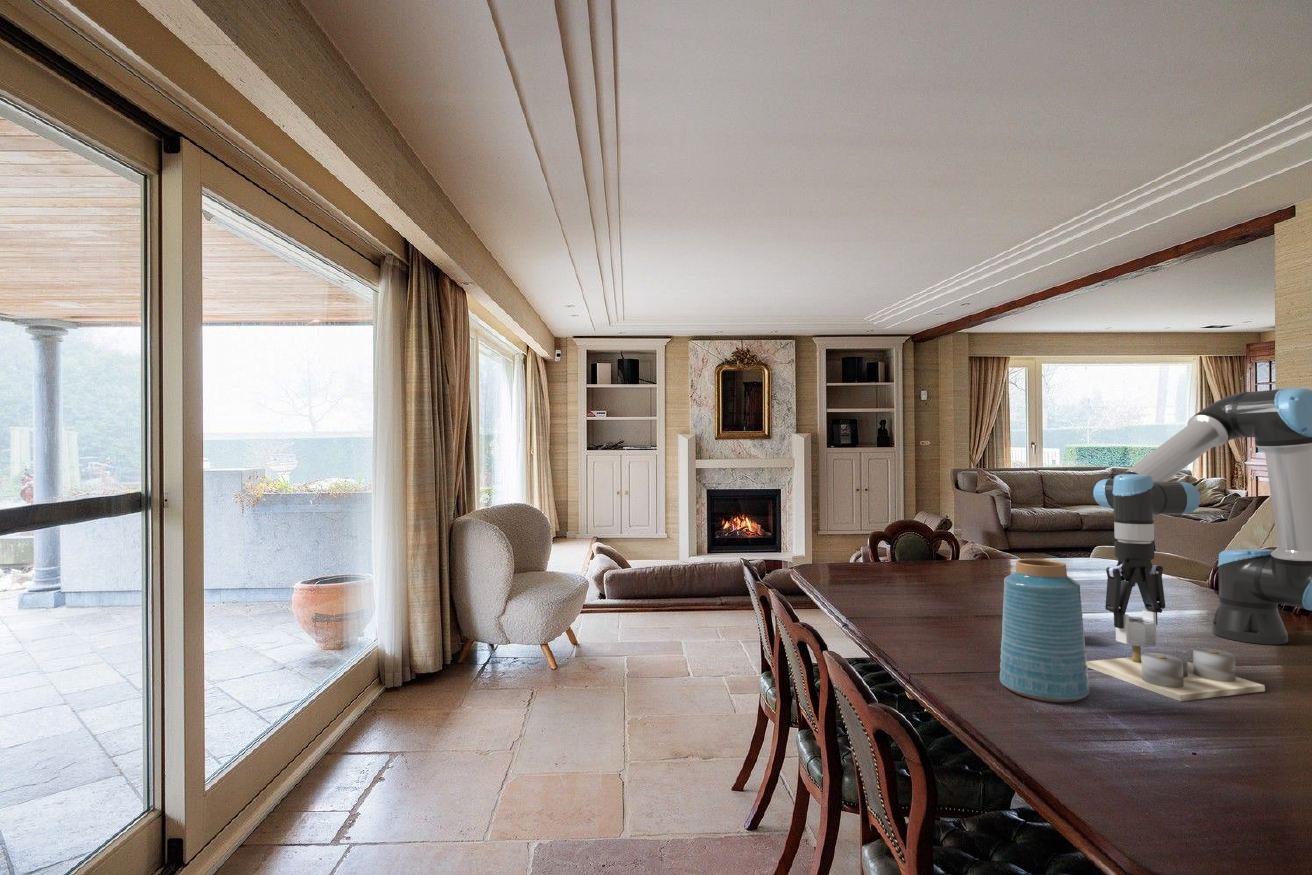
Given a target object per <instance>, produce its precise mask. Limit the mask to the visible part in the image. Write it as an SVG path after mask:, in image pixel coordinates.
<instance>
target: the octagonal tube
mask: <svg viewBox="0 0 1312 875" xmlns="http://www.w3.org/2000/svg"><path fill="white" fill-rule="evenodd" d="M1117 642H1119V641H1117ZM1156 642H1157V641H1156V636H1155V622H1154V621H1152V620H1149V619H1145V618H1143V617H1136V616H1129V644H1127V645H1128V646H1132V645H1134V646H1141V648H1147V647H1148V648H1149V647H1156V646H1157V643H1156ZM1119 643H1122V642H1119ZM1122 644H1123V643H1122Z"/></svg>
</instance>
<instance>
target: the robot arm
mask: <svg viewBox="0 0 1312 875" xmlns="http://www.w3.org/2000/svg"><path fill="white" fill-rule="evenodd" d="M1186 424H1187V425H1186V426H1185V427H1184V428H1182V429H1181V430H1179V431H1178V432H1177V433H1176V434H1174V435H1173V436H1172V437H1170V438H1169V439H1167V440H1166V441H1165V442H1163V443H1162V444H1161V445H1159V446H1158V447H1157V448H1155V449H1154V450H1152V452H1150V453H1148V455H1146V456H1145V457H1143V458H1141V460H1139V461H1138V462H1136V463H1135V464H1134V465H1133V466H1131V467H1130V468H1128V469H1127V470H1126V471H1125V472H1123V473H1122V474H1117V475H1115V476H1114V477H1113V478H1107V479H1106V478H1105V479H1100V480H1099V481H1098V482H1096V484H1095V485H1094V487H1093V499H1094V500H1095V502H1096V503H1097V504H1098V505H1099V506H1100V507H1102V508H1108V509H1113V523H1114V524H1113V526H1114V527H1113V528H1114V531H1113V533H1114V534H1113V535H1114V539H1116V540H1115V541H1114V556H1115V557H1116V558H1117V563H1116V566H1114V567H1110V566H1109V567H1106V569H1105V571H1106V575H1107V581H1106V582H1107V584H1106V594H1105V595H1106V596H1105V606H1104V608H1105V610H1106V611H1109V612H1110V613H1113V626H1114V628H1115V641H1116V642H1118V641H1119V643H1121V642H1122V644H1125V645H1128V644H1129V617H1130V616H1129V614H1126V611H1127V608H1128V604H1129V601H1130V599H1131V598H1130V597H1131V594H1132V590H1133V588H1134V587H1135V586H1136V585H1137V587H1138V590H1139V594H1140V595H1141V599H1142V602H1143V605H1144V607H1145V609H1146V610H1145V609H1143V610H1142V618H1145V619H1149V620H1152V621H1154V622H1155V636H1156V642H1157V641H1158V640H1157V637H1158V636H1157V626H1158V613H1159V614H1161V613H1163V610H1164V609H1165V608H1166V600H1165V592H1164V583H1163V572H1164V567H1163V566H1161V565H1157V564H1156V565H1155V564H1152V560H1154V559H1155V544H1154V543H1153V541H1155V524H1154V522H1155V519H1154V516H1155V515H1179V516H1180V515H1184V514H1190V513H1193V512H1194V511H1195V510H1197V509H1198V508H1199V506H1200V503H1201V495H1200V492H1199V490H1198V488H1197V487H1196V486H1195V485H1193V484H1192V483H1190V482H1186V481H1169V480H1171V479H1172V478H1174V476H1175V475H1177V474H1179V473H1180V472H1181V471H1182V470H1184V469H1185V468H1187V467H1188V466H1189V465H1190V464H1192V463H1194V462H1195V461H1196V460H1197V459H1199V458H1200V457H1201V456H1203V455H1204V454H1205V453H1206V452H1208V451H1209V450H1211V449H1212V448H1217V447H1221V446H1223V445H1225V444H1226V443H1227V442H1229V441H1232V440H1235V439H1236V440H1237V439H1240V438H1241V439H1242V438H1254V443H1255V444H1254V445H1255V447H1256V448H1258V449H1259V450H1260V451H1262V452H1263V453H1264V454H1265V456H1264V457H1265V463H1266V464H1265V465H1266V470H1267V476H1268V484H1269V492H1270V493H1269V494H1270V498H1271V500H1270V501H1271V505H1272V506H1271V507H1272V512H1273V514H1272V515H1273V519H1274V520H1273V521H1274V527H1275V528H1274V529H1275V535H1276V542H1277V543H1276V544H1277V547H1276V548H1275V549H1265V548H1263V549H1262V548H1261V549H1260V548H1259V549H1258V548H1256V549H1254V548H1253V549H1252V548H1250V549H1249V548H1247V549H1246V548H1245V549H1244V548H1243V549H1226V550H1222V551H1221V552H1219V554H1218V561H1217V562H1218V563H1217V569H1218V571H1217V573H1218V593H1219V594H1218V596H1219V598H1218V599H1219V602H1218V603H1219V605H1218V608H1217V610H1216V612H1215V615H1214V618H1213V620H1212V622H1211V633H1212V634H1214V635H1215V636H1218V637H1222V638H1223V639H1224V638H1225V639H1228V640H1233V641H1238V642H1244V643H1250V644H1259V645H1285V644H1287V643H1288V642H1289V635H1288V631H1287V628H1286V627H1285V624H1284V622H1283V618H1282V617H1281V615H1280V613H1279V606H1278V605H1280V604H1281V605H1285V606H1291V607H1294V608H1299V609H1305V610H1308V611H1312V389H1309V388H1293V387H1292V388H1291V387H1288V388H1278V389H1277V388H1276V389H1270V390H1269V389H1268V390H1259V391H1244V392H1239V393H1238V392H1237V393H1235V394H1231V395H1228V396H1225V397H1223V398H1221V399H1218V400H1217V401H1214V402H1213V403H1211V404H1209V405H1208V406H1206V407H1204V408H1203V409H1201V410H1200V411H1198V412H1197V413H1196V414H1194V415H1193V416H1191V417H1190V418H1189V419H1188V421H1187V423H1186Z"/></svg>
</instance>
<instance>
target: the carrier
mask: <svg viewBox="0 0 1312 875" xmlns="http://www.w3.org/2000/svg"><path fill="white" fill-rule="evenodd" d="M1131 648H1132V649H1131V654H1132V656H1130V657H1129V656H1128V657H1127V656H1126V657H1120V658H1119V657H1117V658H1109V659H1101V660H1100V659H1099V660H1098V659H1096V660H1089V661H1088V660H1087V666H1088V669H1090V670H1094V671H1097V672H1099V673H1102V674H1105V675H1107V676H1109V677H1110V676H1111V677H1113V678H1115V679H1118V680H1120V681H1124V682H1126V683H1129V684H1132V685H1135V686H1137V687H1140V688H1142V689H1145V690H1148V691H1151V692H1154V693H1156V694H1159V695H1162V696H1164V697H1167V698H1169V699H1172V700H1176V701H1178V702H1185V701H1193V700H1202V699H1211V698H1220V697H1227V696H1236V695H1244V694H1253V693H1261V692H1266V686H1265V684H1262V683H1259V682H1255V681H1252V680H1248V679H1245V678H1242V677H1239V676H1236V655H1235V654H1234V653H1232V652H1229V651H1226V650H1223V649H1219V648H1218V649H1216V648H1210V647H1196V648H1193V649H1192V662H1190V661H1187V660H1185V659H1182V658H1180V657H1178V656H1174V655H1170V654H1165V653H1161V652H1159V653H1158V652H1144V653H1141V652H1142V651H1141V648H1142V646H1134V645H1131Z"/></svg>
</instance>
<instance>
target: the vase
mask: <svg viewBox="0 0 1312 875" xmlns="http://www.w3.org/2000/svg"><path fill="white" fill-rule="evenodd" d="M1081 598H1082V596H1081V584H1080V583H1079V582H1078V581H1076V580H1075V579H1073V578H1072V577H1070V576H1068V572H1067V564H1066V563H1065V562H1061V561H1056V560H1050V559H1039V558H1023V559H1017V560H1016V563H1015V572H1013V573H1011V574H1010V575H1006V577H1004V579H1003V598H1002V600H1003V603H1002V623H1001V626H1002V627H1001V630H1002V631H1001V640H1000V645H1001V646H1000V656H999V657H1000V663H999V668H1000V671H999V681H1000V683H1001V684H1002V685H1003V686H1004V687H1006V688H1007V689H1008V690H1010V692H1013V693H1014V694H1017V695H1019V696H1021V697H1025V698H1028V699H1032V700H1036V701H1042V702H1049V703H1074V702H1077V701H1080V700H1082V699H1084V698H1086V697H1088V695H1090V684H1089V674H1088V671H1089V670H1088V669H1089V668H1088V666H1087V661H1088V658H1087V649H1086V641H1085V632H1084V630H1085V629H1084V617H1083V610H1082V608H1083V605H1082V600H1081Z"/></svg>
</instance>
